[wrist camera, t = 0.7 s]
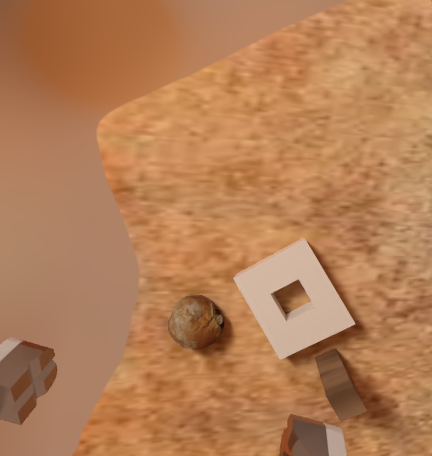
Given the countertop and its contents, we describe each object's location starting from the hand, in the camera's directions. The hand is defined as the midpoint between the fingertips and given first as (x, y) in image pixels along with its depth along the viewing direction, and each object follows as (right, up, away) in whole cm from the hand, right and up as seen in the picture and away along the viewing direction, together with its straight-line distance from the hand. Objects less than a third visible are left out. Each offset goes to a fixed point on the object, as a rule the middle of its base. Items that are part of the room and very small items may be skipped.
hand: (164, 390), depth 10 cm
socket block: (+15, -7, +45) cm, 48 cm away
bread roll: (-2, -12, +49) cm, 51 cm away
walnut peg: (+22, -19, +44) cm, 53 cm away
